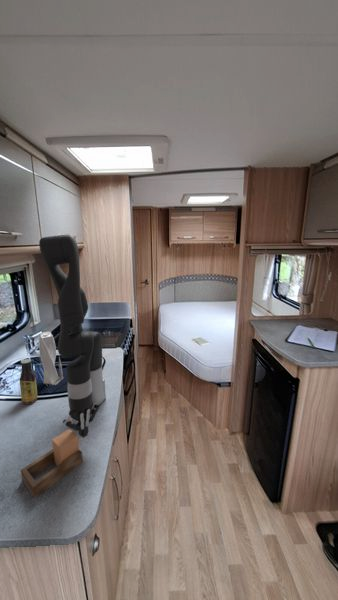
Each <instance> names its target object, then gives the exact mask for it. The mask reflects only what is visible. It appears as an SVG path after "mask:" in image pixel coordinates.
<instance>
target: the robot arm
mask: <svg viewBox="0 0 338 600" xmlns="http://www.w3.org/2000/svg"><path fill="white" fill-rule="evenodd" d="M38 242H39V244H38V245H39V246H38V247H39V250H40V251H39V252H40V254H41V257H42V259H43V260H42V261H43V262H44V264H45V266H46V268H47V270H48V273H49V275H50V277H51V279H52V282H53V284H54V287H55V291H56V293H57V297H58V298H57V307H58V314H59V322H60V329H59V330H60V331H59V337H58V341H57V342H58V343H57V353H58V354H59V357H62V358H63V359H70V358H74V357H75V359H74V360H71V361H69V362H68V364H67V365H66V367H65V368H66V370H65V371H66V379H67V387H66V388H67V397H68V398H67V399H68V407H69V412H68V417H67V418H66V419H63V421H62V424H64V425H65V426H66V427H67V428H69V429H72V430H73V431H76V432H78V434H79V436H80V437H81V438H84V439H85V437H87V436H88V435H89V425H90V423H92V422H94V419H95V416H96V415H97V413H98V411H99V408H100V405H101V404H102V403H103V402H104V400H105V399H106V398H107V395H106V380H105V379H104V378H103V364H102V363H103V362H102V361H103V338H102V333H100V331H90V330H89V331H88V330H84V328H83V323H84V321H85V317H86V315H87V313H88V310H89V303H88V299H87V296H86V293H85V291H84V290H83V288H82V287H81V274H80V273H81V272H80V271H81V269H80V253H79V248H78V243H77V241H76V238H75V236H73V235H72V234H61V235H52V236H45V237H41V238H40V239H39V241H38ZM65 264H68V273H67V274H66V273H65V272H64V271H63V269H62V268H61V266H60V265H65ZM76 357H77V358H76ZM73 420H75V422H76V424H75V423H74V421H73Z"/></svg>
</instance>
